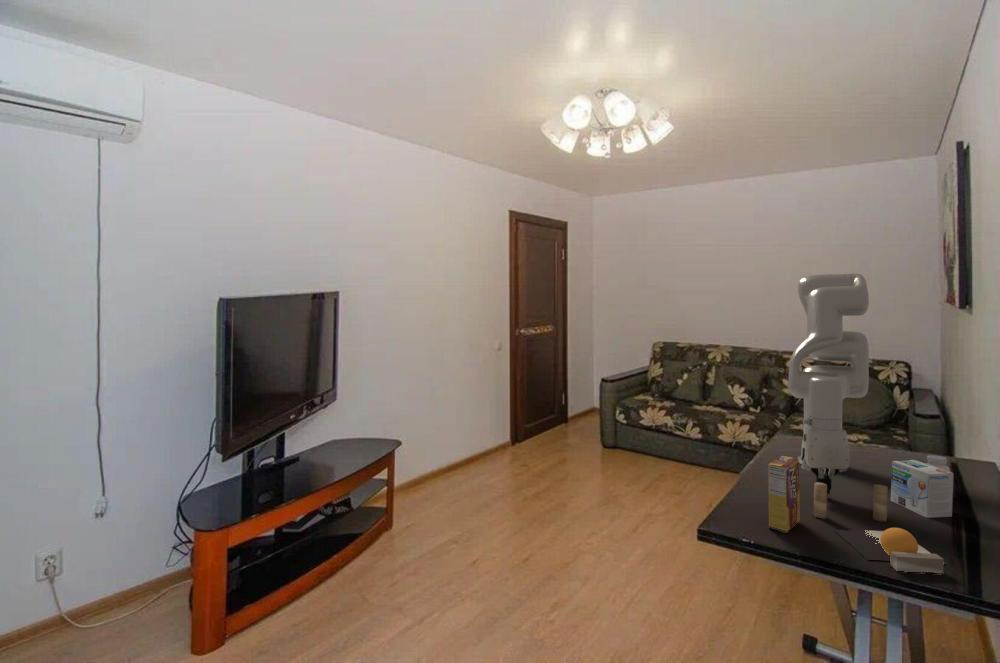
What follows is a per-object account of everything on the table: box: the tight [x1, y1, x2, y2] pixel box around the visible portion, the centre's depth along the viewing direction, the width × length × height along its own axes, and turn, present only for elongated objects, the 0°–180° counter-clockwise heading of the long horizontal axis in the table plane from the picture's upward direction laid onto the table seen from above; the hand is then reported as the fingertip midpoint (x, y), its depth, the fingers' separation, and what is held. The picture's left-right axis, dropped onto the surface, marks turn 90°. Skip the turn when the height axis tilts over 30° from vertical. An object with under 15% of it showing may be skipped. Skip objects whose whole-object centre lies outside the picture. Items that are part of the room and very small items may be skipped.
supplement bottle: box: [924, 454, 951, 472], centre depth 136 cm, size 5×5×10 cm
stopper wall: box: [889, 552, 945, 574], centre depth 97 cm, size 2×8×3 cm, turn 81°
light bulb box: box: [890, 459, 954, 519], centre depth 126 cm, size 11×7×11 cm, turn 5°
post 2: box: [872, 484, 889, 523], centre depth 120 cm, size 3×3×8 cm
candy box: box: [767, 455, 801, 531], centre depth 117 cm, size 9×4×15 cm, turn 133°
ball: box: [880, 527, 919, 555], centre depth 102 cm, size 6×6×6 cm
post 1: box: [813, 482, 828, 519], centre depth 122 cm, size 3×3×8 cm
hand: (823, 492), depth 134 cm, fingers closed
